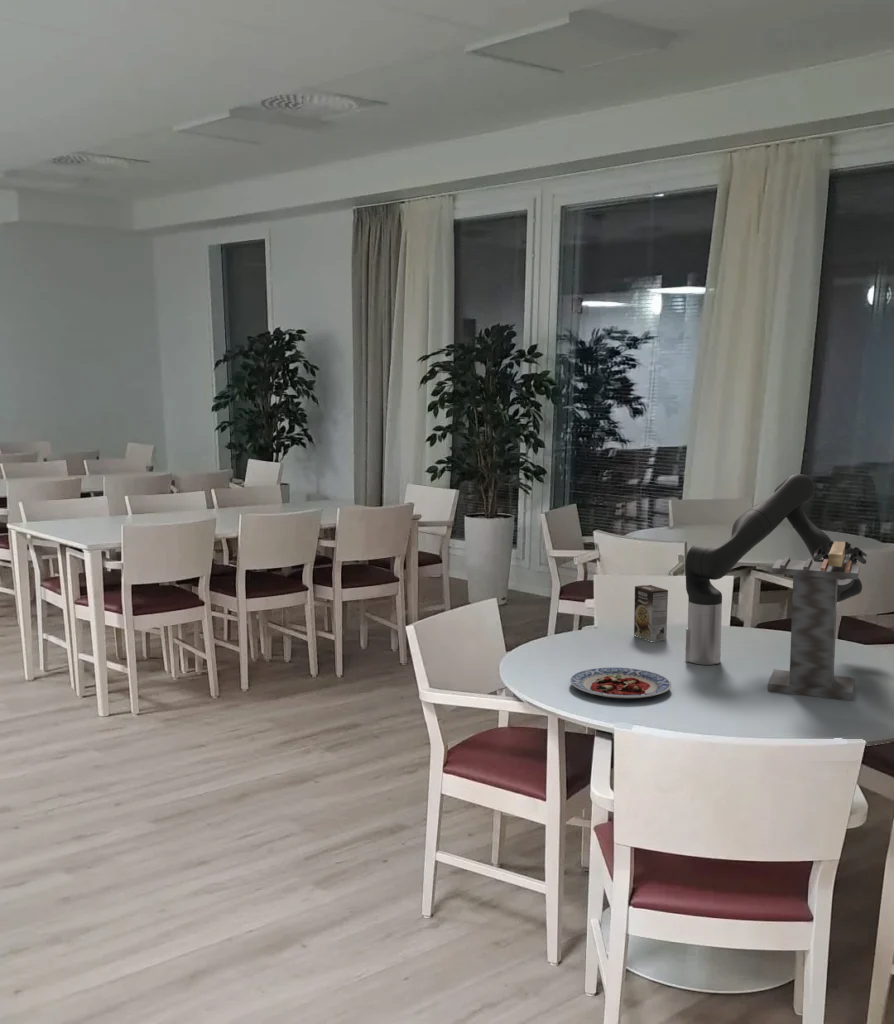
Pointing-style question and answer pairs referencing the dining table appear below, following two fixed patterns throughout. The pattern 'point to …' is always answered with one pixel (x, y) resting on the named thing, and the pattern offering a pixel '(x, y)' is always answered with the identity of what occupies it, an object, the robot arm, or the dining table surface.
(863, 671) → the dining table surface
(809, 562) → the grey pedestal stand
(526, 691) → the dining table surface
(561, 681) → the dining table surface
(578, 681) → the ceramic plate
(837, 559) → the oak bar
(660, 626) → the printed cardboard box
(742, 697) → the dining table surface
